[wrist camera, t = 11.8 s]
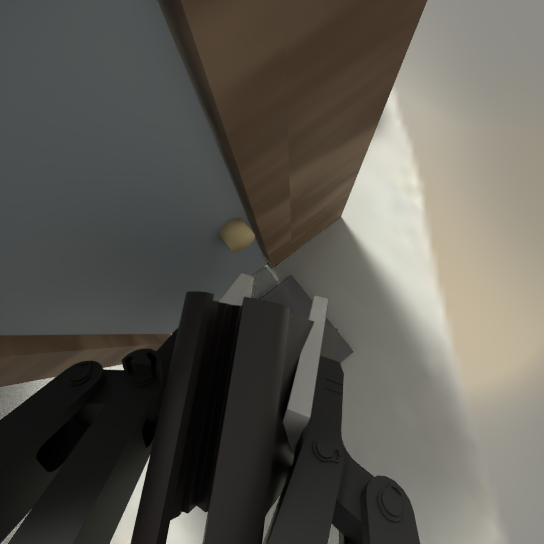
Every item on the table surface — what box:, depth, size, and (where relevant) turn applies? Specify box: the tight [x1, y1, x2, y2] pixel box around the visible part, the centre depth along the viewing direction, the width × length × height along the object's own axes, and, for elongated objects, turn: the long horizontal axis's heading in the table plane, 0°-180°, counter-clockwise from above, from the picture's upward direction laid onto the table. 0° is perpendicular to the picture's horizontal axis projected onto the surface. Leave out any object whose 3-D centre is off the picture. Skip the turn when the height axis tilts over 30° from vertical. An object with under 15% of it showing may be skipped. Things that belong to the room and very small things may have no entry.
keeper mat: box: [260, 275, 353, 362], centre depth 23 cm, size 9×12×1 cm
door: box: [0, 0, 266, 335], centre depth 14 cm, size 11×3×21 cm, turn 127°
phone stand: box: [131, 291, 338, 544], centre depth 11 cm, size 9×6×12 cm, turn 82°
